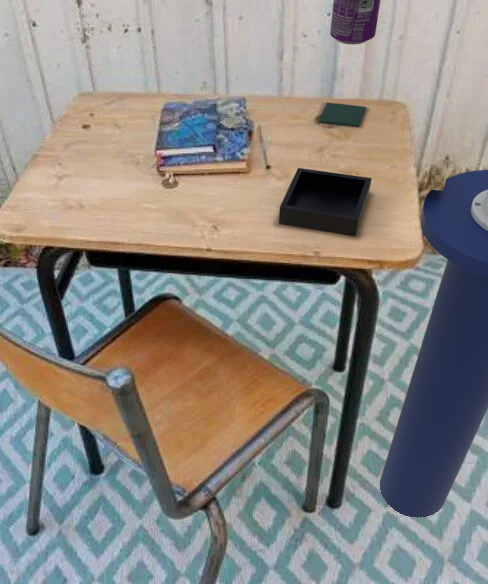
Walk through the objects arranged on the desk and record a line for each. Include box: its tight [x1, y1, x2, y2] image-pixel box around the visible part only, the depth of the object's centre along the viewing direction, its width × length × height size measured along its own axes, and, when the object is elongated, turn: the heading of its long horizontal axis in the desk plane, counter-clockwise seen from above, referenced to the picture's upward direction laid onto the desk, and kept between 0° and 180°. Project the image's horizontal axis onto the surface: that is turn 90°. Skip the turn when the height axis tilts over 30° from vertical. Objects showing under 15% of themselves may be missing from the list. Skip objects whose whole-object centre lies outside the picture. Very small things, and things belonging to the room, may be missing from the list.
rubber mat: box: [318, 102, 367, 128], centre depth 114 cm, size 7×7×1 cm
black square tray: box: [278, 167, 373, 237], centre depth 94 cm, size 11×11×3 cm
